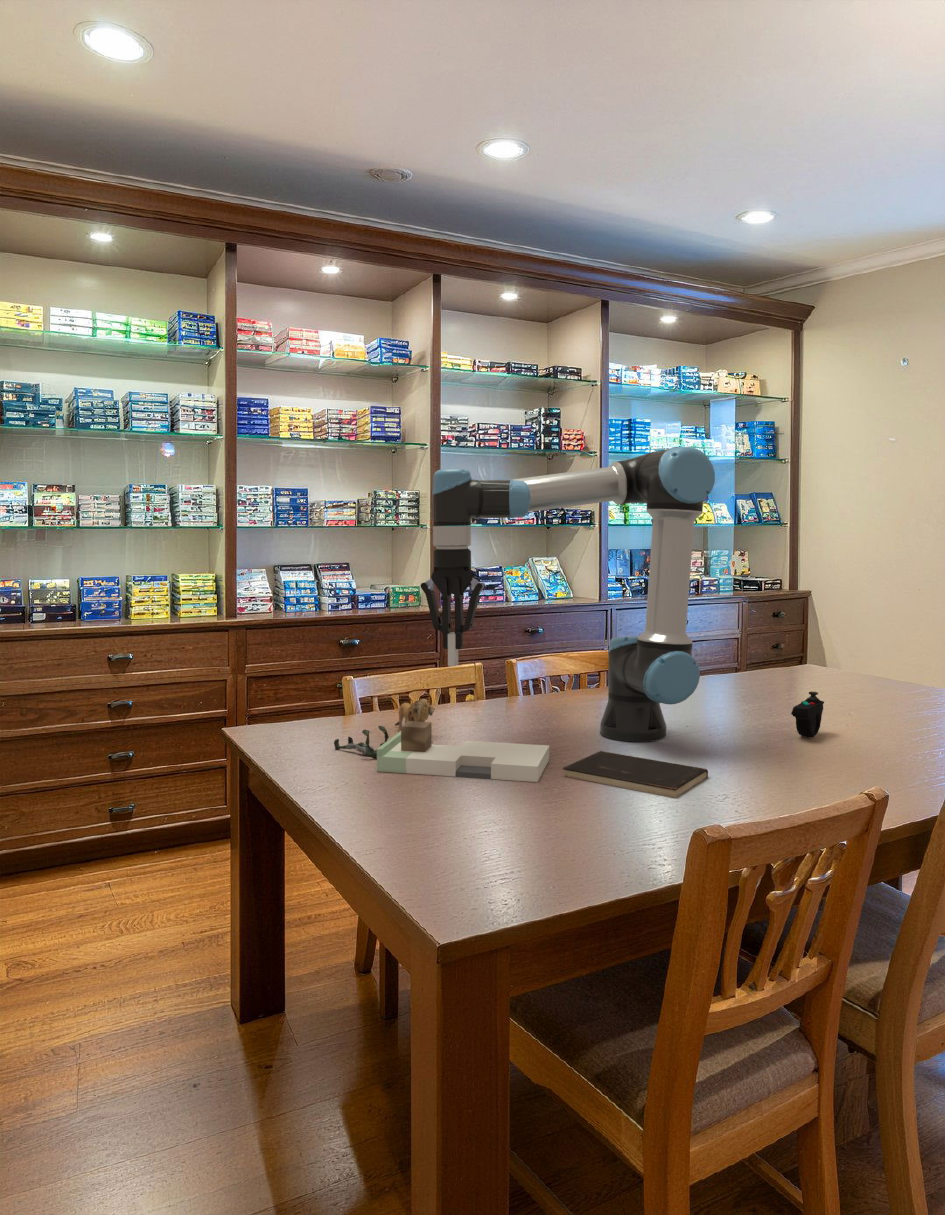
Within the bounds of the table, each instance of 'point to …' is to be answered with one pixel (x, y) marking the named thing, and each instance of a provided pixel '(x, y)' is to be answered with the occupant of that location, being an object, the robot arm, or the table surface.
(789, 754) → the table surface
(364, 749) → the zombie figurine
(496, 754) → the trap board
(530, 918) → the table surface
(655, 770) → the hardcover book
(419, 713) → the lion figurine
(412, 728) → the walnut block
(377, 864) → the table surface
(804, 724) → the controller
